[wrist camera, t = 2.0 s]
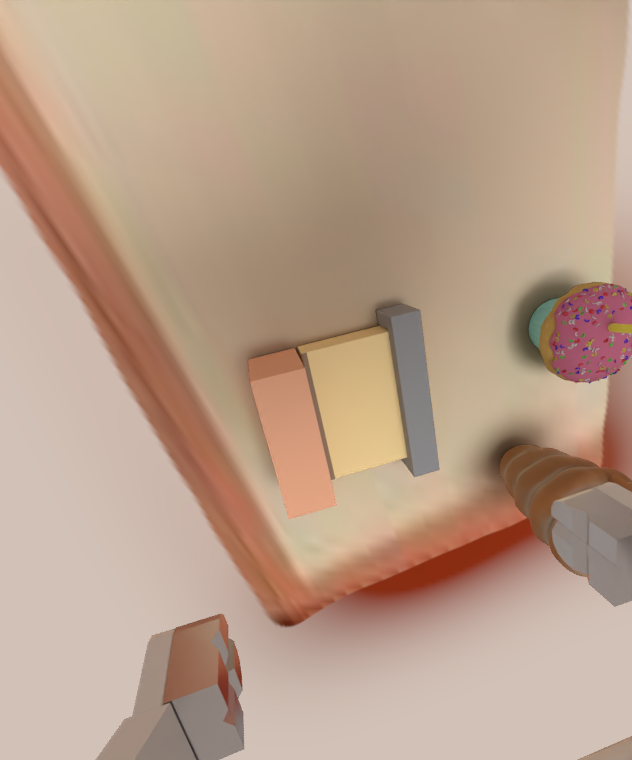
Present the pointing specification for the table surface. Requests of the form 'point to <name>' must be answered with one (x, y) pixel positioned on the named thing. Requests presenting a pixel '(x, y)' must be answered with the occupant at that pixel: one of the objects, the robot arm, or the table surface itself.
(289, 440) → the block
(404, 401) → the yellow slab with bar
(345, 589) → the table surface
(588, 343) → the cupcake
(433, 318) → the table surface
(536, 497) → the cat ice cream
